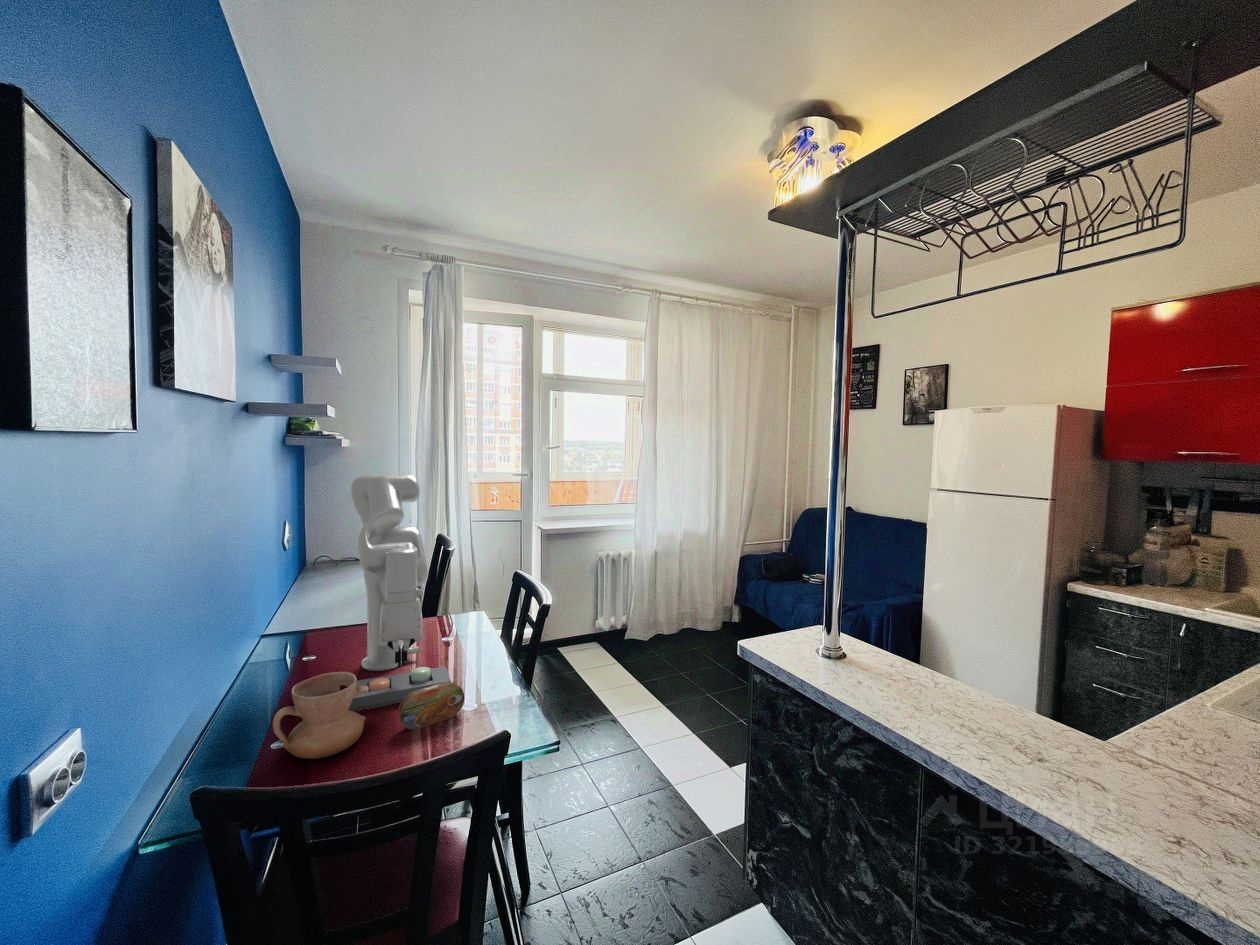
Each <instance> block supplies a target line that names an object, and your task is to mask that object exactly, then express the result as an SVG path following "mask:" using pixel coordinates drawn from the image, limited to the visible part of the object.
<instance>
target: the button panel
mask: <svg viewBox="0 0 1260 945" xmlns="http://www.w3.org/2000/svg"><path fill="white" fill-rule="evenodd" d="M379 678H387V679H389V680H390V688H387V689H381V690H376V691H370V692H369V683H370V682H371V681H373V680H375V679H379ZM444 682H452V680H451V678H450V675H449V672H448V669H447V666H446V665H445V666H438V667H433V668H430V681H427V682H422V683H416V684H411V671H409V672H403V673H402V672H401V673H396V674H389V675H384V676H378V677H370V678H366V679H359V680H357V685H356V688H358V687H360V686H368V692H367V693H365V692H362V693H360V694H358V695H357V696H355V697H354V698H353V700H352V702H351V704H350V707H349V709H348V710H350V711H357V710H360V709H361V710H362V709H366V708H372V707H378V706H384V705H389V706H391V705H390V704H394V705H396V704H395V703H399V702H400V704H401V702H402V700H403V699H404V698H405V697H406V696H407V695H408V694H410V693H411V692H414V691H416V690H420V689H424V688H427V687H430V686H434V685H437V684H441V683H444ZM384 707H385V706H384ZM378 708H379V707H378ZM362 711H363V710H362ZM357 712H358V711H357Z"/></svg>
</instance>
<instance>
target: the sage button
mask: <svg viewBox="0 0 1260 945" xmlns="http://www.w3.org/2000/svg"><path fill="white" fill-rule="evenodd" d="M430 669H431V668H430V667H428V666H421V667H415V668H414V669H412V670H411V671H410V672H411V684H416V683H422V682H427V681H430Z"/></svg>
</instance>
